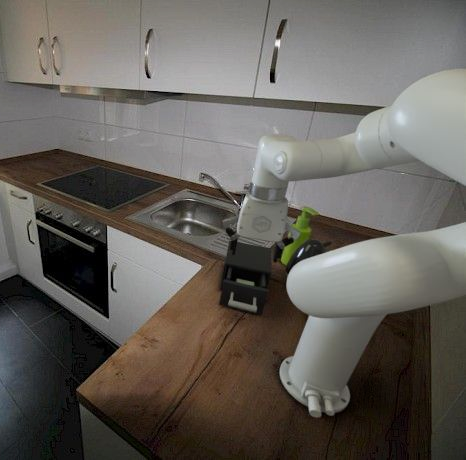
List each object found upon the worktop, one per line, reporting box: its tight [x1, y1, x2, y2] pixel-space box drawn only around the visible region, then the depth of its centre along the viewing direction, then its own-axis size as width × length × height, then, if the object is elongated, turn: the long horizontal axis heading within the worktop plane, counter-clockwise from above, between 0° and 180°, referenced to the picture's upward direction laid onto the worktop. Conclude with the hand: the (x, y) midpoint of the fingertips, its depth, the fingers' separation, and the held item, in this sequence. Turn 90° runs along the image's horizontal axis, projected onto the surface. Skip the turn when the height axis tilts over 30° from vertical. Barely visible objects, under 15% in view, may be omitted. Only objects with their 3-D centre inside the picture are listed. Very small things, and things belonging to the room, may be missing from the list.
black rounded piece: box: [285, 238, 333, 278], centre depth 91 cm, size 10×10×15 cm
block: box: [236, 279, 254, 286], centre depth 85 cm, size 4×4×4 cm
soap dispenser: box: [280, 205, 320, 267], centre depth 100 cm, size 6×7×20 cm
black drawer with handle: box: [218, 266, 270, 317], centre depth 85 cm, size 17×11×8 cm, turn 158°
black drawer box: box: [219, 240, 273, 291], centre depth 93 cm, size 14×12×10 cm
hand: (253, 256), depth 79 cm, fingers open, 9 cm apart
